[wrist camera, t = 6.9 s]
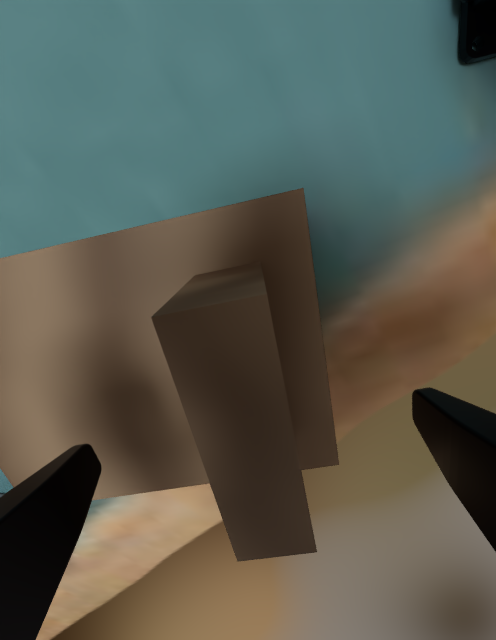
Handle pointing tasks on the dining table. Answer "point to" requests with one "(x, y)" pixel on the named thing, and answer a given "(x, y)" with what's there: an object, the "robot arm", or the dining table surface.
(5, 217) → the dining table surface
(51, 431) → the lid
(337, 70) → the dining table surface
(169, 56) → the dining table surface
